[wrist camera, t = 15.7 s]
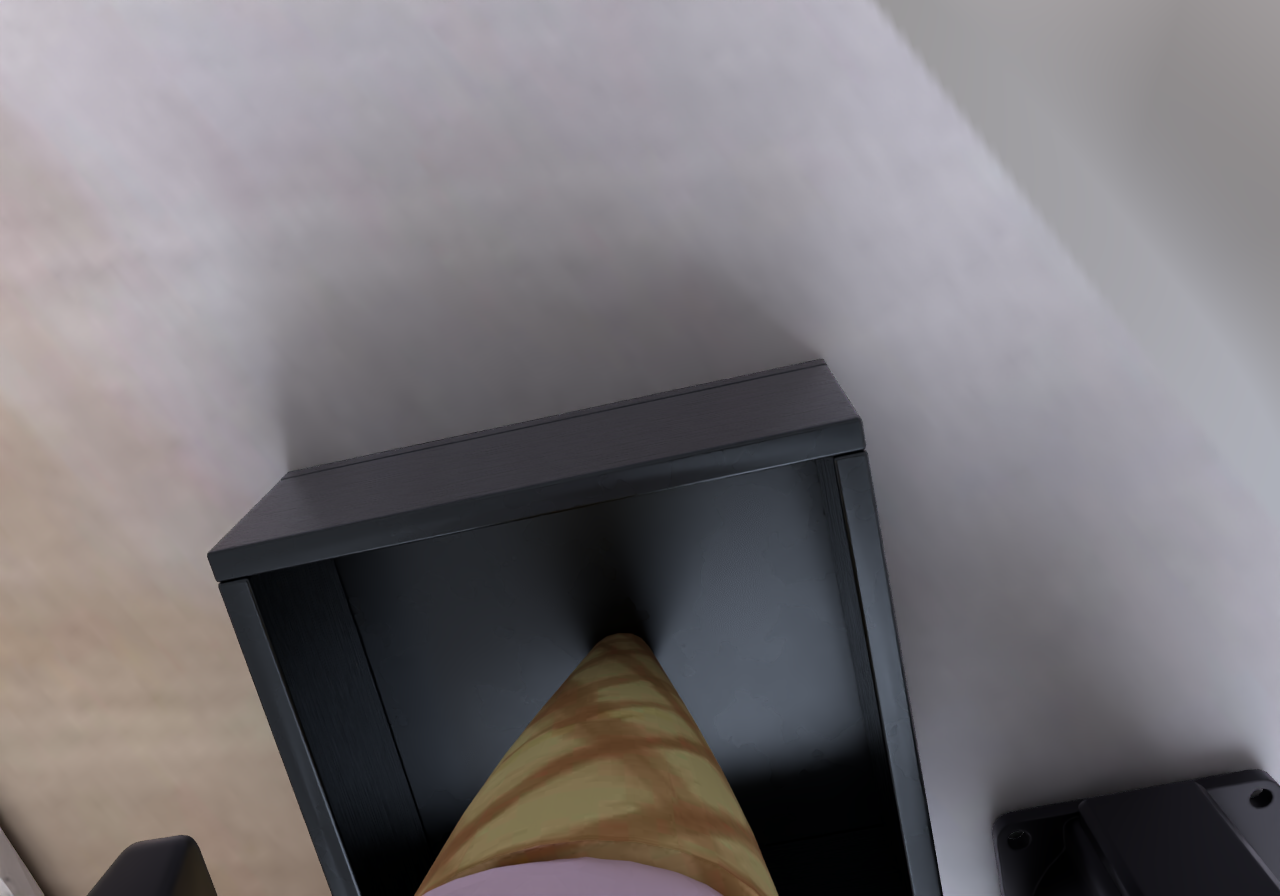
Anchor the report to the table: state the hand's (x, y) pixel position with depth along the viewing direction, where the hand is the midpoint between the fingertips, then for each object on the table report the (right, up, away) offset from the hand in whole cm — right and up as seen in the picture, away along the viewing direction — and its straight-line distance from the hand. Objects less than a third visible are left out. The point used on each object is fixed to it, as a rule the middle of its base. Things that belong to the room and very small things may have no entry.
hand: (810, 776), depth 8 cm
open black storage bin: (-2, -2, +17) cm, 17 cm away
